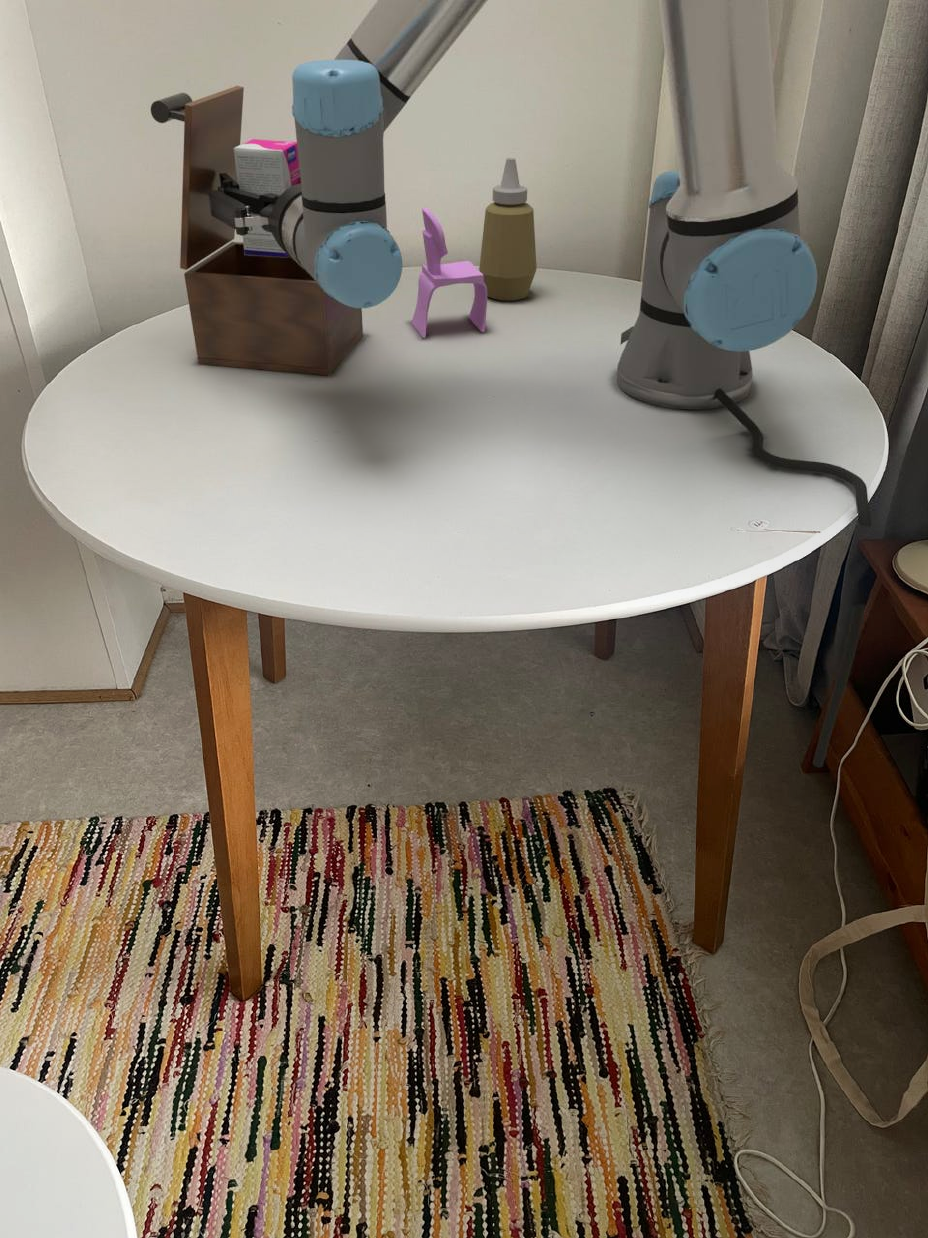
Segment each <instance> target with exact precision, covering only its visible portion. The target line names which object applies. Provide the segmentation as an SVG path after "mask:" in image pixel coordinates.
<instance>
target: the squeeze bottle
mask: <svg viewBox="0 0 928 1238" xmlns="http://www.w3.org/2000/svg"><path fill="white" fill-rule="evenodd" d="M519 178H520V177H519V172H518V168H517V160H516V158H514V157H507V158H506V160H505V164H504V167H503V172H502V177H501V182H500V184H499V185H495V186H493V187H492V201H493V202H491V203H489V204H488V205H487V206H486V207H485V211H484V221H483V231H482V240H481V249H480V257H479V258H480V259H479V268H478V271H480V272H481V273H482V274H483V275H484V283H485V284H486V286H487V297H489V298H490V299H494V300H499V301H518V300H523V299H525V298H527V297H528V295H529V292H530V289H531V286H532V284H533V280H534V278H535V275H536V273H537V270H538V269H537V252H536V251H537V250H536V249H537V248H536V231H535V213H534V208H533V207H532V205H530V204H529V203H527V201H528V188H527V187H526V186H524V185H520V179H519Z"/></svg>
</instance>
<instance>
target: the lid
mask: <svg viewBox="0 0 928 1238" xmlns="http://www.w3.org/2000/svg"><path fill="white" fill-rule="evenodd" d="M244 90H245V88H244V86H241V85H236V86H233V87H230V88H227V89H224V90H220V91H218V92H216V93H212V94H209V95H207V96H205V97H201V98H199V99H198V98H197V99H195V100H193V99H192V97H191V96H190V95H189V94H188V93H187V92H179V93H176V94H173V95H169V96H166V97H164V98H161V99H158V100H155V101H153V102H152V103H151V106H150V114H151V117H152V119H153V120H154V121H155V122H156V123H159V124H165V123H167V122H171V121H173V120H176V121H179V122H183V123H184V125H183V158H182V159H183V161H182V190H181V191H182V192H181V223H180V226H181V227H180V228H181V229H180V258H179V259H180V262H179V269H182V270H185V271H188V270H190V269H191V268H193V267H194V266H196V265H197V264H199V263H200V262H202V261H203V260H205V259H207V258H208V257H210V256H211V255H213V254H214V253H216V252H217V251H219V250H220V249H222V248H223V247H225V246H226V245H228V244H230V243H231V242H233V240H235V235H236V229H234V228H232V227H231V226H229V225H227V224H225V223H224V222H222V221H220V220H219V219H217V218H215V217H213V216H212V215H211V208H210V201H209V194H208V192H209V191H210V190H217V191H218V187H221V182H220V175H219V174H220V173H226V174H228V175H229V176H230V177H231V178H232V179H233V180H234V181H235V182H237V176H236V166H235V156H234V148H235V147H237V146H239V145H241V139H242V121H243V108H244V107H243V105H244Z"/></svg>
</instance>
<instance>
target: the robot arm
mask: <svg viewBox="0 0 928 1238" xmlns="http://www.w3.org/2000/svg"><path fill="white" fill-rule="evenodd" d="M488 1H489V0H377V1H376V2H375V3H374V4H373V6H372V7H371V9H369V11H368V12H367V14H366V15H365V17H364V18H363V19H362V21H361V22H360V24H359V25H358V26H357V28H356V29H355V30H354V32H353V33H352V34H351V35H350V38H349V40H348V41H347V42H346V43H345V44H344V46H343V47H342V48H341V49H340V51H339V52H338V53H337V55H336V56H335V57H334V59H320V60H312V61H311V60H310V61H307V62H303V63H300V64H299V65H297V66H296V67H295V69H294V70H293V71H292V75H291V81H292V105H291V111H292V112H291V114H292V117H293V119H294V129H295V137H296V142H297V149H298V158H299V168H300V178H301V183H300V184H296V185H294V186H292V187H290V188H288V189H287V190H286V191H284V192H283V193H282V194H281V195H277V194H273V193H267V194H263V195H258V194H255V193H251V192H247V191H244V190H240V188H239V184H238V183H237V182H235V181H234V180H233V179H232V178H231V177H230V176H229V175H228V174H226V173H220V174H219V175H220V182H221V187H218V191H217V190H210V191H209V192H208V194H209V201H210V208H211V215H212V216H213V217H215V218H217V219H219V220H220V221H222V222H224V223H225V224H227V225H229V226H231V227H232V228H234V229H235V235H237V236H242V237H243V235H246V234H248V231H252V226H261V227H262V229H263V230H265V231H267V232H271V233H272V234H273V236H274V238H275V240H276V241H277V243H278V244H279V246H280V247H281V248H282V249H283V250H284V251H285V252H286V253H287V254H288V255H289V256H290V257H291V258H292V259H293V260H295V261H296V262H297V263H298V264H299V265H300V266H301V267H302V268H303V269H304V270H305V271H306V272H307V273H308V274H309V275H311V276H312V277H313V278H314V279H315V280H316V282H317V283H318V284H319V286H320V287H321V289H322V290H323V291H324V292H325V293H326V294H329V296H330V297H333V298H334V299H336V300H337V301H339V302H340V303H343V304H344V305H347V306H349V307H353V308H362V309H369V308H372V307H376V306H378V305H380V304H382V303H383V302H385V301H386V300H387V299H388V298H390V296H391V295H392V294H393V293H394V291H395V290H396V289H397V287H398V285H399V284H400V281H401V277H402V274H403V267H404V265H403V256H402V252H401V249H400V247H399V245H398V243H397V241H396V239H395V238H394V237H393V235H392V234H391V233H390V231H389V229H388V218H387V201H386V192H385V159H384V158H385V157H384V155H385V154H384V135H385V132H386V130H387V129H388V128H389V127H390V125H391V124H392V123H393V122H394V120H395V119H396V118H397V116H398V115H399V114H400V112H401V111H402V110H403V109H404V107H405V106H406V105H407V103H408V101H409V100H410V99H411V97H412V96H413V95H414V94H415V92H416V91H417V90H418V89H419V88H420V86H421V85H422V84H423V82H425V80H426V79H427V77H428V76H429V75H430V74H431V72H432V71H434V69H435V68H436V66H437V65H438V63H439V62H440V61H441V59H443V57H444V56H445V55H446V54H447V52H448V51H449V50H450V48H451V47H452V46H453V44H454V43H455V42H456V41H457V39H458V38H459V37H460V36H461V35H462V33H463V32H464V31H465V29H466V28H468V26H469V24H470V23H471V22H472V21H473V19H475V17H476V16H477V15H478V13H480V11H481V9H482V8H483V7H484V6H485V4H486V3H487V2H488ZM658 5H659V14H660V23H661V32H662V41H663V49H664V57H665V66H666V74H667V83H668V84H667V85H668V91H669V100H670V108H671V109H670V110H671V117H672V126H673V135H674V143H675V151H676V152H675V153H676V160H677V161H676V162H677V169H678V170H668V171H664V172H662V173H660V174H659V175H658V176H657V177H656V178H655V180H654V182H653V185H652V190H651V191H652V192H651V198H650V200H649V201H648V209H649V213H648V214H649V215H648V224H647V234H646V244H645V253H644V254H645V255H644V262H643V274H642V283H641V292H640V293H641V294H640V303H639V311H638V312H639V313H638V316H637V318H636V320H635V323H634V325H633V326H631V327H629V328H628V329H626V330H624V331H622V332H621V334H620V342H619V343H620V344H619V345H623V344H624V343H625V346H624V348H623V350H622V353H621V354H620V358H619V360H618V363H617V372H616V382H617V385H618V387H619V388H620V389H621V390H622V391H623V392H625V393H626V394H628V395H629V396H631V397H633V398H635V399H637V400H639V401H641V402H645V403H648V404H650V405H655V406H660V407H664V408H670V409H671V408H672V409H678V410H679V409H680V410H709V409H718V408H723V407H725V408H726V409H727V410H728V411H729V412H730V413H731V415H732V416H733V417H734V418H736V420H737V421H738V422H739V423H740V424H741V425H742V426H743V427H744V428H745V429H746V430H747V431H748V433H749V434H750V435H751V437H752V442H753V444H752V451H753V453H754V455H755V456H756V457H757V458H758V460H760V461H761V462H763V463H765V464H768V465H770V466H773V467H776V468H781V469H786V470H791V471H793V470H794V471H801V472H802V471H803V472H811V473H812V472H813V473H820V474H827V475H831V476H833V477H836V478H838V479H840V480H842V481H844V482H846V483H847V484H848V485H850V486H852V487H853V488H854V492H855V501H856V511H857V516H858V522H859V524H860V525H861V526H863V527H866V528H869V527H871V526H872V518H871V517H872V516H871V512H870V505H869V497H868V496H869V495H868V487H867V485H866V483H865V482H864V480H863V479H862V478H861V477H860V476H858V475H857V474H855V473H854V472H852V471H850V470H848V469H846V468H844V467H841V466H838V465H835V464H832V463H827V462H822V461H821V462H820V461H815V460H814V461H813V460H801V459H793V458H786V457H781V456H778V455H775V454H772V453H770V452H768V451H767V450H766V449H764V436H763V433H762V431H761V429H760V427H758V425H757V424H756V422H754V421H753V420H752V418H751V417H750V416H748V414H746V412H744V410H743V409H741V408H740V406H739V405H738V404H736V403H738V402H741V401H743V400H744V399H745V398H747V396H749V394H750V392H751V387H752V381H753V366H752V359H751V351H756V350H759V349H762V348H766V347H768V346H770V345H773V344H774V343H776V342H778V341H779V340H781V339H782V338H784V337H785V336H786V335H788V334H789V333H790V332H791V331H792V330H794V328H795V326H796V325H798V324H799V322H800V321H801V320H802V319H803V318H804V317H805V316H806V314H807V312H808V311H809V309H810V308H811V305H812V302H813V300H814V299H815V298H814V297H815V294H816V292H817V287H818V286H817V285H818V269H817V264H816V261H815V258H814V256H813V253H812V251H811V248H810V246H809V245H808V243H807V242H806V241H805V240H803V239H802V237H801V229H800V227H801V225H800V209H799V208H800V207H799V188H798V181H797V179H796V177H794V176H793V175H791V173H789V172H788V171H786V170H785V169H784V168H782V167H781V165H780V164H779V156H778V155H779V154H778V138H777V122H776V104H775V103H776V102H775V92H774V91H775V89H774V88H775V87H774V74H773V73H774V71H773V56H772V39H771V22H770V6H769V0H658ZM865 606H866V604H857V605H853V606H852V613H851V617H850V623H849V627H848V632H847V637H846V642H845V646H844V650H843V654H842V658H841V662H840V666H839V669H838V671H837V672H838V673H837V676H836V679H835V683H834V687H833V690H832V694H831V697H830V700H829V703H828V706H827V710H826V713H825V716H824V721H823V724H822V727H821V730H820V735H819V738H818V742H817V745H816V749H815V753H814V757H813V761H812V765H813V766H814V767H816V768H822V767H823V766H824V762H825V759H826V754H827V751H828V747H829V744H830V739H831V737H832V733H833V729H834V726H835V723H836V720H837V717H838V713H839V710H840V706H841V703H842V701H843V697H844V693H845V690H846V687H847V684H848V680H849V678H850V673H851V670H852V667H853V662H854V660H855V659H854V658H855V655H856V650H857V646H858V642H859V638H860V633H861V628H862V624H863V619H864V613H865Z"/></svg>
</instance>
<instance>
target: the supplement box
mask: <svg viewBox="0 0 928 1238" xmlns="http://www.w3.org/2000/svg"><path fill="white" fill-rule="evenodd" d="M234 156H235V166H236V176H237V183H238V184H239V188H240V190H244V191H247V192H251V193H255V194H258V195H263V194H267V193H273V194H277V195H281V194H282V193H283V192H284V191H286V190H287V189H288V188H290V187H292V186H294V185H296V184H300V183H301V178H300V168H299V158H298V149H297V141H289V140H273V139H272V140H271V139H270V140H269V139H257V138H252V139H250V140H248V141H246V142H244V143H240V145H239V146H237V147H235V148H234ZM242 243H243V245H244V255H249V256H268V257H283V258H289V257H290V256H289V255H288V254H287V253H286V252H285V251H284V250H283V249H282V248H281V247H280V246H279V244H278V243H277V241H276V240H275V238H274V236H273V234H272V233H271V232H267V231H265V230H263V229H262V227H261V226H252V231H248V234H246V235H243V236H242Z"/></svg>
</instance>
